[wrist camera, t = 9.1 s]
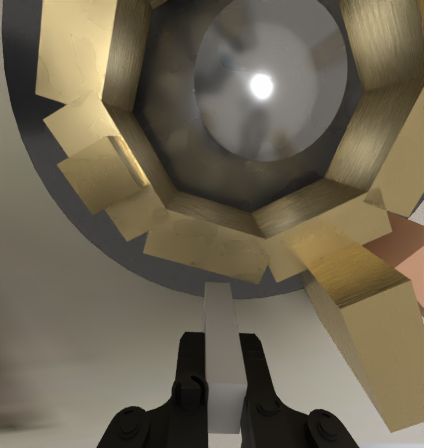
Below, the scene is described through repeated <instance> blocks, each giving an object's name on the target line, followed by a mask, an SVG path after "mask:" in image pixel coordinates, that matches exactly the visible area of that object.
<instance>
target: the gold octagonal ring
mask: <svg viewBox="0 0 424 448" xmlns="http://www.w3.org/2000/svg"><path fill="white" fill-rule="evenodd" d="M166 1H167V0H43V7H42V19H41V31H40V44H39V56H38V68H37V80H36V92H35V94H37V95H40V96H43V97H46V98H49V99H52V100H55V101H58V102H61V103H64V104H67V105H66V106H64V107H63V108H61V109H59V110H58V111H56V112H54V113H53V114H51V115H50V116H48V117H46V118H45V119H43V121H44V122H45V124H46V125H47V126H48V128H49V129H50V131H51V132H52V134H53V135H54V137H55V138H56V140H57V141H58V142H59V144H60V145H61V147H62V148H63V150H64V151H65V153H66V154H67V156H68V157H69V158H67V159H65V160H64V161H62V162H60V163H59V164H57V166H58V167H59V169H60V170H61V171H62V173H63V174H64V176H65V177H66V178H67V180H68V181H69V183H70V184H71V186H72V187H73V188H74V190H75V191H76V193H77V194H78V195H79V197H80V198H81V200H82V201H83V202H84V204H85V205H86V207H87V208H88V209H89V211H90V212H91V214H92V215H94V214H96V213H98V212H100V211H102V210H103V209H105V211H106V212H107V214H108V215H109V216H110V218H111V219H112V221H113V222H114V224H115V225H116V227H117V228H118V230H119V231H120V232H121V234H122V235H123V237H124V238H125V240H126V241H127V242H128V241H130V240H132V239H134V238H135V237H137V236H139V235H141V234H143V233H145V232H147V231H149V232H148V236H147V239H146V243H145V247H144V251H143V253H144V254H148V255H152V256H155V257H159V258H163V259H166V260H170V261H174V262H178V263H181V264H185V265H189V266H192V267H196V268H200V269H203V270H207V271H211V272H215V273H218V274H222V275H226V276H229V277H233V278H237V279H240V280H244V281H248V282H252V283H255V284H259V283H260V281H261V278H262V276H263V274H264V271H265V269H266V267H267V265H268V266H269V268H270V270H271V272H272V274H273V276H274V278H275V280H276V282H277V283H278V282H280V281H282V280H284V279H287V278H289V277H291V276H293V275H296V274H298V273H299V275H300V277H301V280H302V282H303V284H304V286H305V288H306V291H307V293H308V295H309V297H310V299H311V302H312V304H313V306H314V308H315V310H316V313H317V315H318V317H319V319H320V321H321V322H322V324H323V325H324V327H325V329H326V330H327V332H328V333H329V335H330V337H331V338H332V340H333V341H334V343H335V344H336V346H337V348H338V349H339V351H340V352H341V354H342V356H343V357H344V359H345V360H346V362H347V364H348V365H349V367H350V368H351V370H352V372H353V373H354V375H355V376H356V378H357V380H358V381H359V383H360V384H361V386H362V387H363V389H364V391H365V392H366V394H367V395H368V397H369V399H370V400H371V402H372V403H373V405H374V407H375V408H376V410H377V411H378V413H379V415H380V416H381V418H382V419H383V421H384V422H385V424H386V426H387V427H388V429H389V430H390V432H391V433H392V432H395V431H398V430H401V429H404V428H407V427H410V426H413V425H416V424H419V423H422V422H424V324H423V320H422V316H421V313H420V309H419V306H418V302H417V299H416V295H415V291H414V288H413V284H412V281H411V279H409V278H408V277H406V276H405V275H403V274H402V273H400V272H399V271H398V270H396V269H395V268H393V267H392V266H390V265H389V264H387V263H386V262H384V261H383V260H382V259H380V258H379V257H377V256H376V255H374V254H373V253H371V252H370V251H369V250H367V249H366V248H364V247H363V246H361V245H363V244H366V243H368V242H370V241H372V240H375V239H377V238H379V237H381V236H384V235H386V234H388V233H390V232H392V229H391V225H390V222H389V218H388V215H387V211H390V212H393V213H396V214H399V215H402V216H405V217H408V218H409V216H410V214H411V213H412V211H413V209H414V208H415V206H416V204H417V203H418V201H419V199H420V198H421V196H422V194H423V193H424V0H338V2H339V6H340V9H341V13H342V17H343V20H344V24H345V28H346V31H347V35H348V38H349V42H350V46H351V49H352V53H353V57H354V60H355V64H356V68H357V71H358V75H359V78H360V82H361V86H362V89H363V94H362V96H361V98H360V100H359V103H358V105H357V107H356V109H355V111H354V113H353V116H352V118H351V120H350V122H349V124H348V126H347V129H346V131H345V133H344V135H343V137H342V139H341V142H340V144H339V146H338V148H337V150H336V152H335V155H334V157H333V159H332V161H331V163H330V165H329V168H328V170H327V172H326V174H325V176H324V177H323V178H321V179H319V180H317V181H315V182H313V183H311V184H309V185H307V186H305V187H303V188H301V189H299V190H297V191H295V192H293V193H291V194H289V195H287V196H285V197H283V198H281V199H279V200H276V201H274V202H272V203H270V204H268V205H266V206H264V207H262V208H260V209H258V210H256V211H254V212H252V213H250V212H247V211H243V210H240V209H237V208H233V207H230V206H227V205H224V204H220V203H217V202H214V201H211V200H207V199H204V198H201V197H198V196H194V195H191V194H188V193H185V192H181V191H178V190H177V189H176V188H175V186H174V184H173V182H172V181H171V179H170V177H169V175H168V174H167V172H166V170H165V168H164V167H163V165H162V163H161V161H160V160H159V158H158V156H157V154H156V153H155V151H154V149H153V147H152V146H151V144H150V142H149V140H148V139H147V137H146V135H145V133H144V132H143V130H142V128H141V126H140V125H139V123H138V121H137V119H136V118H135V116H134V114H133V108H134V103H135V98H136V93H137V88H138V83H139V78H140V73H141V68H142V63H143V58H144V53H145V47H146V42H147V37H148V32H149V27H150V22H151V17H152V12H153V9H155V8H156V7H158V6H160V5H161V4H163V3H164V2H166ZM386 210H387V211H386Z"/></svg>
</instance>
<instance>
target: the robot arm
mask: <svg viewBox="0 0 424 448" xmlns="http://www.w3.org/2000/svg"><path fill="white" fill-rule="evenodd" d="M240 426H241V434H242V443H241V448H359V446H358V445H357V444H356V442H355V441H354V439H353V438H352V436H351V435H350V434H349V432H348V431H347V429H346V428H345V426H344V425H343V424H342V422H341V421H340V420H339V419H338V418H337V417H336V416H335V415H333V414H332V413H330V412H328V411H326V410H323V409H315V410H313V411H312V412H310V414H309V415H307V414H304V413H301V412H298V411H295V410H293V409H291V408H289V407H287V406H286V405H285V404H283V403H282V401H281V400H280V399H279V398H278V396H277V395H276V393H275V390H274V387H273V383H272V380H271V376H270V373H269V369H268V365H267V362H266V358H265V355H264V351H263V347H262V344H261V341H260V340H259V339H258V337H257V336H256V335H255V334H249V333H238V327H237V321H236V316H235V310H234V304H233V299H232V293H231V287H230V283H217V282H205V294H204V307H203V332H185V333H184V334H183V336H182V337H181V339H180V343H179V352H178V360H177V369H176V377H175V381H174V383H173V386H172V396H171V398H170V399H169V400H168V401H167V402H166V403H165V404H164V405H162V406H160V407H158V408H156V409H153V410H150V411H147V412H146V411H145V410H144V409H142V408H140V407H136V406H131V407H127V408H124V409H123V410H121V411H120V412H119V413H117V414H116V415H115V417H114V418H113V419H112V421H111V422H110V424H109V426H108V428H107V429H106V431H105V433H104V435H103V437H102V439H101V440H100V442H99V444H98V446H97V448H208V433H224V434H239V432H240Z"/></svg>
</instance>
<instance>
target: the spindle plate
mask: <svg viewBox="0 0 424 448" xmlns="http://www.w3.org/2000/svg"><path fill="white" fill-rule="evenodd" d="M42 7H43V0H3V14H2V43H3V57H4V70H5V75H6V81H7V86H8V91H9V96H10V102H11V106H12V110H13V113H14V116H15V119H16V122H17V125H18V129H19V132H20V135H21V138H22V141H23V143H24V145H25V147H26V150H27V152H28V154H29V156H30V159H31V161H32V163H33V165H34V168H35V169H36V171H37V173H38V175H39V176H40V178H41V180H42V181H43V183H44V185H45V187H46V188H47V190H48V192H49V193H50V195H51V196H52V198H53V199H54V200H55V202H56V203H57V204H58V206H59V207H60V208H61V210H62V211H63V212H64V214H65V215H66V216H67V218H68V219H69V220H70V221H71V222H72V223H73V224H74V225H75V226H76V227H77V228H78V230H79V231H80V232H81V233H82V234H83V235H84V236H85V237H86V238H87V239H88V240H89V241H91V242H92V243H93V244H94V245H95V246H96V247H98V248H99V249H100V250H101V251H102V252H103V253H105V254H106V255H107V256H109V257H110V258H112V259H113V260H114V261H116V262H117V263H119V264H120V265H122V266H123V267H125V268H126V269H128V270H130V271H132V272H134V273H136V274H137V275H139V276H141V277H143V278H145V279H147V280H149V281H151V282H154V283H157V284H159V285H162V286H164V287H167V288H170V289H172V290H176V291H180V292H184V293H188V294H192V295H196V296H203V297H204V294H205V282H217V283H230V287H231V293H232V299H251V298H263V297H269V296H274V295H279V294H285V293H289V292H292V291H295V290H299V289H302V288H305V286H304V284H303V282H302V280H301V277H300V275H299V273H298V274H296V275H293V276H291V277H289V278H287V279H284V280H282V281H280V282H278V283H277V282H276V280H275V278H274V276H273V274H272V272H271V270H270V268H269V266H268V265H267V267H266V269H265V271H264V274H263V276H262V278H261V281H260V283H259V284H255V283H252V282H248V281H244V280H240V279H237V278H233V277H229V276H226V275H222V274H218V273H215V272H211V271H207V270H203V269H200V268H196V267H192V266H189V265H185V264H181V263H178V262H174V261H170V260H166V259H163V258H159V257H155V256H152V255H148V254H144V253H143V251H144V247H145V243H146V239H147V236H148V232H149V231H147V232H145V233H143V234H141V235H139V236H137V237H135V238H134V239H132V240H130V241H128V242H127V241H126V240H125V238H124V237H123V235H122V234H121V232H120V231H119V230H118V228H117V227H116V225H115V224H114V222H113V221H112V219H111V218H110V216H109V215H108V214H107V212H106V211H105V209H103V210H102V211H100V212H98V213H96V214H94V215H92V214H91V212H90V211H89V209H88V208H87V207H86V205H85V204H84V202H83V201H82V200H81V198H80V197H79V195H78V194H77V193H76V191H75V190H74V188H73V187H72V186H71V184H70V183H69V181H68V180H67V178H66V177H65V176H64V174H63V173H62V171H61V170H60V169H59V167H58V166H57V164H59V163H60V162H62V161H64V160H65V159H67V158H69V157H68V156H67V154H66V153H65V151H64V150H63V148H62V147H61V145H60V144H59V142H58V141H57V140H56V138H55V137H54V135H53V134H52V132H51V131H50V129H49V128H48V126H47V125H46V124H45V122H44V121H43V119H45V118H46V117H48V116H50V115H51V114H53V113H54V112H56V111H58V110H59V109H61V108H63V107H64V106H66V105H67V104H64V103H61V102H58V101H55V100H52V99H49V98H46V97H43V96H40V95H37V94H35V92H36V80H37V68H38V56H39V44H40V31H41V19H42ZM362 94H363V89H362V86H361V82H360V78H359V75H358V71H357V68H356V64H355V60H354V57H353V53H352V49H351V46H350V42H349V38H348V35H347V31H346V28H345V24H344V20H343V17H342V13H341V9H340V6H339V2H338V0H167V1H166V2H164V3H163V4H161V5H160V6H158V7H156V8H155V9H153V12H152V17H151V22H150V27H149V32H148V37H147V42H146V47H145V53H144V58H143V63H142V68H141V73H140V78H139V83H138V88H137V93H136V98H135V103H134V108H133V114H134V116H135V118H136V119H137V121H138V123H139V125H140V126H141V128H142V130H143V132H144V133H145V135H146V137H147V139H148V140H149V142H150V144H151V146H152V147H153V149H154V151H155V153H156V154H157V156H158V158H159V160H160V161H161V163H162V165H163V167H164V168H165V170H166V172H167V174H168V175H169V177H170V179H171V181H172V182H173V184H174V186H175V188H176V189H177V190H178V191H181V192H185V193H188V194H191V195H194V196H198V197H201V198H204V199H207V200H211V201H214V202H217V203H220V204H224V205H227V206H230V207H233V208H237V209H240V210H243V211H247V212H250V213H252V212H254V211H256V210H258V209H260V208H262V207H264V206H266V205H268V204H270V203H272V202H274V201H276V200H279V199H281V198H283V197H285V196H287V195H289V194H291V193H293V192H295V191H297V190H299V189H301V188H303V187H305V186H307V185H309V184H311V183H313V182H315V181H317V180H319V179H321V178H323V177H324V176H325V174H326V172H327V170H328V168H329V165H330V163H331V161H332V159H333V157H334V155H335V152H336V150H337V148H338V146H339V144H340V142H341V139H342V137H343V135H344V133H345V131H346V129H347V126H348V124H349V122H350V120H351V118H352V116H353V113H354V111H355V109H356V107H357V105H358V103H359V100H360V98H361V96H362ZM423 200H424V193H423V194H422V196H421V198H420V199H419V201H418V203H417V204H416V206H415V208H414V209H413V211H412V213H411V214H410V216H411V215H412V214H413V213H414V212H415V210H416V209H417V208H418V207H419V205H420V204H421V203H422V201H423ZM386 211H387V210H386ZM388 212H390V211H388ZM391 213H393V212H391ZM393 214H396V213H393ZM396 215H398V216H401V217H403V218H406V219H408V217H405V216H402V215H399V214H396ZM410 216H409V217H410Z"/></svg>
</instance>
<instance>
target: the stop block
mask: <svg viewBox="0 0 424 448" xmlns="http://www.w3.org/2000/svg"><path fill="white" fill-rule="evenodd" d="M387 215H388V218H389V222H390V225H391V229H392V232H390V233H388V234H386V235H384V236H381V237H379V238H377V239H375V240H372V241H370V242H368V243H366V244H363V245H361V246H363V247H364V248H366V249H367V250H369V251H370V252H371V253H373V254H374V255H376V256H377V257H379V258H380V259H382V260H383V261H384V262H386V263H387V264H389V265H390V266H392V267H393V268H395V269H396V270H398V271H399V272H400V273H402V274H403V275H405V276H406V277H408V278H409V279H411V281H412V284H413V288H414V291H415V295H416V299H417V302H418V306H419V309H420V313H421V316H423V317H424V226H423V225H420V224H418V223H416V222H413V221H411V220H408V219H406V218H403V217H401V216H398V215H396V214H393V213H391V212H388V211H387Z"/></svg>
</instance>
